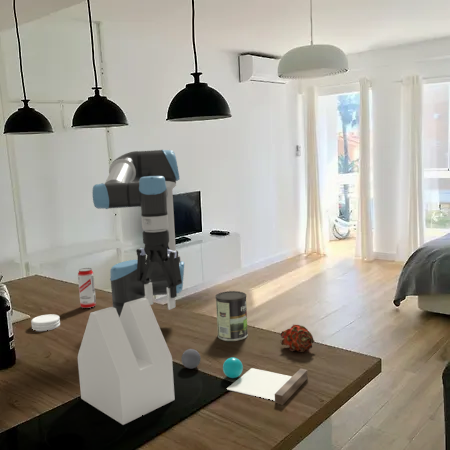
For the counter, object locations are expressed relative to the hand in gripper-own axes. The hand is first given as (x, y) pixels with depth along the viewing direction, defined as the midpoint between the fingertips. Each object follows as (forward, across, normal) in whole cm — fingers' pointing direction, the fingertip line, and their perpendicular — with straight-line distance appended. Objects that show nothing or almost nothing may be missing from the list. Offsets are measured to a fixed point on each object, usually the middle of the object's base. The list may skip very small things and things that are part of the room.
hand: (160, 306), depth 149 cm
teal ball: (+14, +24, 0) cm, 28 cm away
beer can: (+17, -63, +30) cm, 72 cm away
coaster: (+18, -60, +6) cm, 63 cm away
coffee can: (+17, +8, +27) cm, 33 cm away
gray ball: (+14, +10, 0) cm, 18 cm away
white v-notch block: (+18, +6, -23) cm, 29 cm away
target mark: (+17, +33, 0) cm, 37 cm away
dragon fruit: (+17, +32, +25) cm, 44 cm away
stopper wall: (+17, +42, 0) cm, 45 cm away
